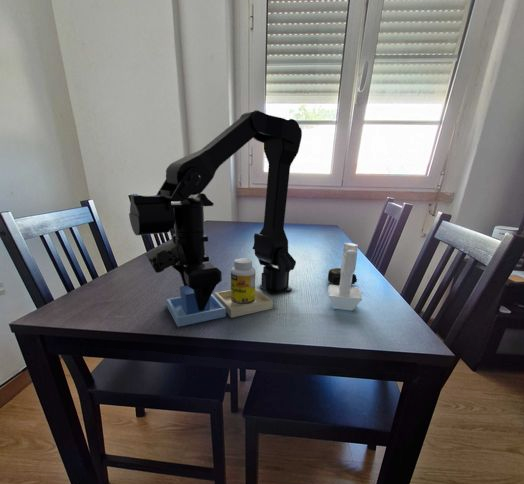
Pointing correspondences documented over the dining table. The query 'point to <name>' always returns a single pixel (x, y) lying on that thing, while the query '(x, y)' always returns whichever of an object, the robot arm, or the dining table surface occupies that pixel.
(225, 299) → the cream tray
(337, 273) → the tape measure
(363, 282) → the dining table surface
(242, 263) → the supplement bottle
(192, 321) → the blue tray
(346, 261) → the white joystick
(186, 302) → the blue block
